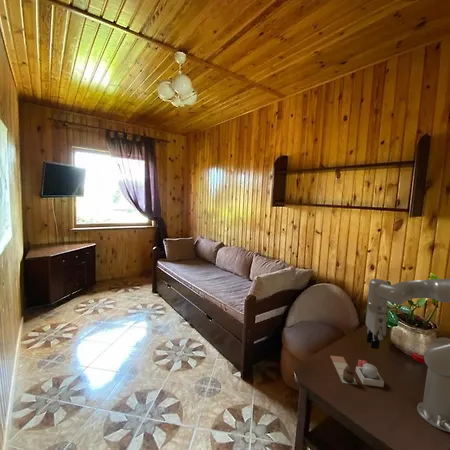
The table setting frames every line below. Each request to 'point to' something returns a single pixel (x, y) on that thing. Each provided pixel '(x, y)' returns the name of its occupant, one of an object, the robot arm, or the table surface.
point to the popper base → (367, 381)
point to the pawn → (348, 374)
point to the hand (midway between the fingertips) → (372, 345)
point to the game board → (342, 365)
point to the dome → (369, 371)
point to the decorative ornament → (418, 358)
